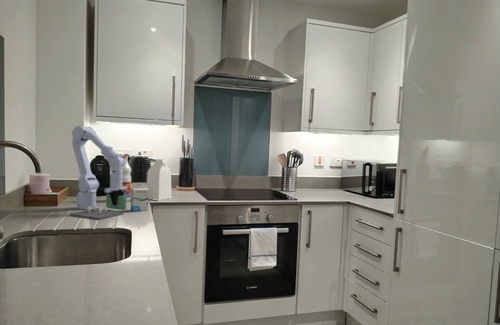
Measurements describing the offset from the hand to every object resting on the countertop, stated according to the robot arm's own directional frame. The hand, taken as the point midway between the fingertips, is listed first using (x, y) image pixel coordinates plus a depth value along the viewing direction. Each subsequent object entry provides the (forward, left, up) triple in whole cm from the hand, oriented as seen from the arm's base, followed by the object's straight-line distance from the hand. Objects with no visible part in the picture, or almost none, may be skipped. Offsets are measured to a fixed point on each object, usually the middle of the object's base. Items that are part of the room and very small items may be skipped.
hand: (115, 204), depth 194 cm
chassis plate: (+1, -14, -3) cm, 14 cm away
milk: (-7, +47, -3) cm, 48 cm away
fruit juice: (-20, +28, -3) cm, 35 cm away
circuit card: (0, 0, -2) cm, 2 cm away
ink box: (+9, +8, -3) cm, 13 cm away
